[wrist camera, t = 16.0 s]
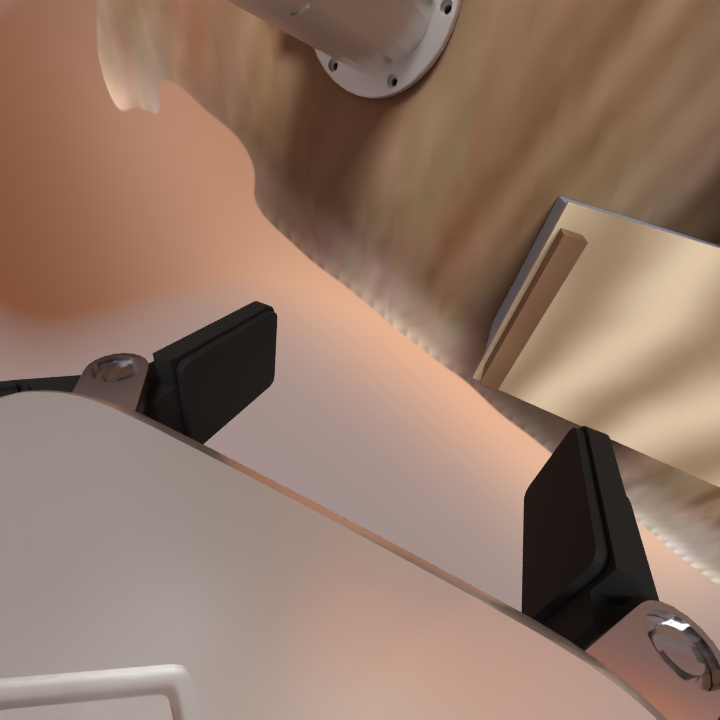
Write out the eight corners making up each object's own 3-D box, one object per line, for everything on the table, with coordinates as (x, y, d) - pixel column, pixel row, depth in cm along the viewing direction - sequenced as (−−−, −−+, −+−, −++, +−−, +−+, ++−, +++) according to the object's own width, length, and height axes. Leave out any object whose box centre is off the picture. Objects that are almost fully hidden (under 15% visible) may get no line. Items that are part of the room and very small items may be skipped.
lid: (474, 373, 27) (467, 395, 24) (567, 201, 20) (572, 206, 17) (745, 492, 23) (773, 534, 20) (985, 330, 16) (1076, 363, 13)
